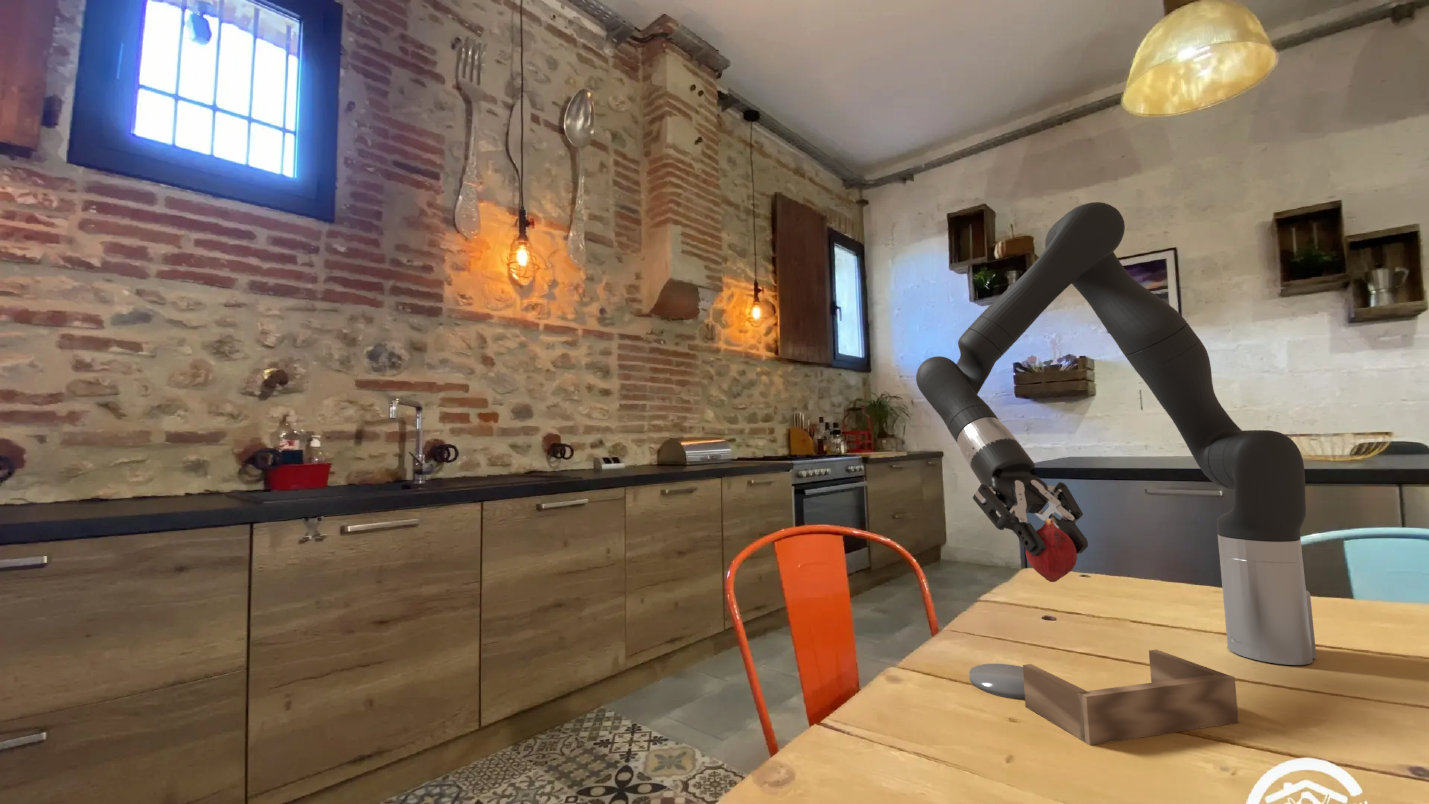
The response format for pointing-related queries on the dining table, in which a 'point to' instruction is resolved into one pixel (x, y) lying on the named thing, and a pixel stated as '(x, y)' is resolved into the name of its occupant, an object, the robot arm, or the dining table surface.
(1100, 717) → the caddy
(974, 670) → the stone
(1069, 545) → the onion
